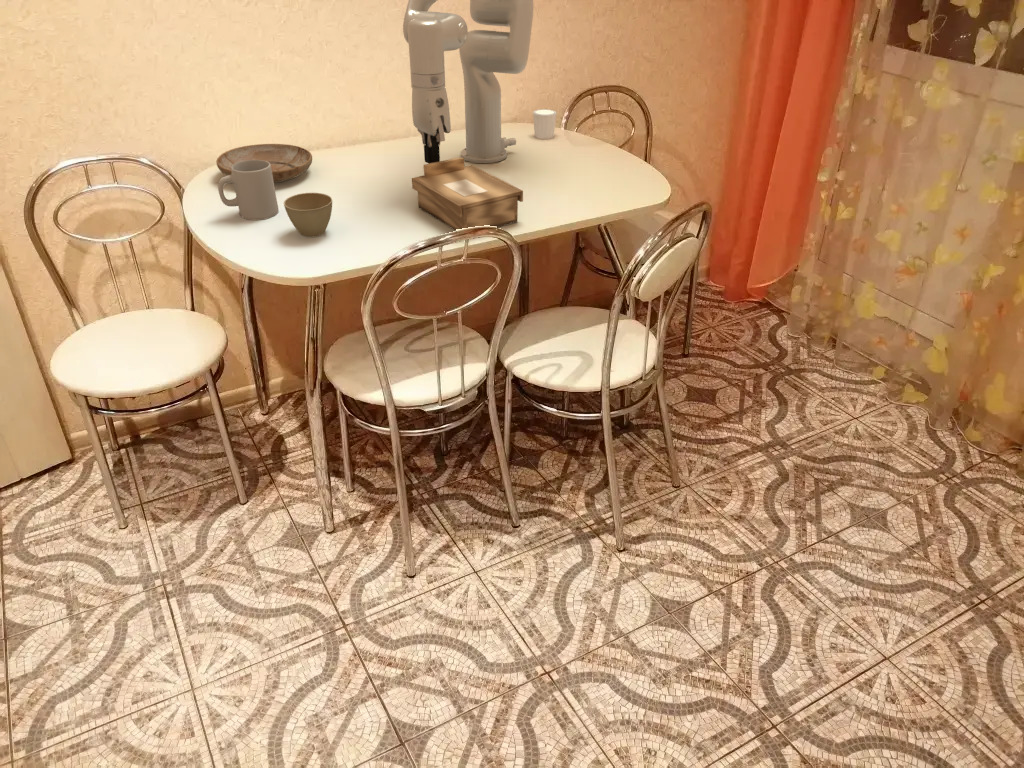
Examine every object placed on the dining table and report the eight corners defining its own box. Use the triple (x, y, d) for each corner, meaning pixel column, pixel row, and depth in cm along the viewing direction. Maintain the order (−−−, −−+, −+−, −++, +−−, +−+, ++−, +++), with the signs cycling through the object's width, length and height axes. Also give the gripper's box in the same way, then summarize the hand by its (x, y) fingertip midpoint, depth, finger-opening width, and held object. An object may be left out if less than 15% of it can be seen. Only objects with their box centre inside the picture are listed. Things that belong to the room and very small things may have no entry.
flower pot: (279, 237, 164) (273, 205, 160) (307, 220, 172) (303, 189, 168) (318, 245, 161) (313, 212, 157) (345, 228, 169) (341, 196, 165)
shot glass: (530, 139, 224) (531, 114, 220) (534, 132, 229) (534, 108, 226) (554, 140, 223) (555, 115, 219) (557, 133, 229) (558, 109, 225)
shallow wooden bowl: (235, 198, 184) (230, 178, 181) (209, 170, 200) (205, 151, 197) (327, 181, 194) (325, 161, 191) (296, 156, 210) (293, 137, 208)
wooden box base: (469, 195, 186) (469, 170, 182) (517, 222, 172) (517, 196, 169) (418, 207, 179) (416, 182, 176) (464, 236, 165) (463, 209, 162)
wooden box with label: (472, 175, 184) (471, 154, 181) (522, 201, 170) (523, 179, 167) (412, 188, 176) (410, 166, 173) (459, 217, 162) (459, 194, 159)
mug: (273, 203, 181) (265, 157, 174) (282, 216, 174) (274, 168, 168) (221, 212, 176) (210, 165, 170) (228, 225, 170) (217, 176, 163)
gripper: (460, 84, 167) (462, 167, 178) (426, 71, 178) (430, 151, 188) (430, 89, 164) (434, 173, 174) (397, 75, 174) (403, 156, 184)
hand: (432, 161), depth 181 cm, fingers closed
